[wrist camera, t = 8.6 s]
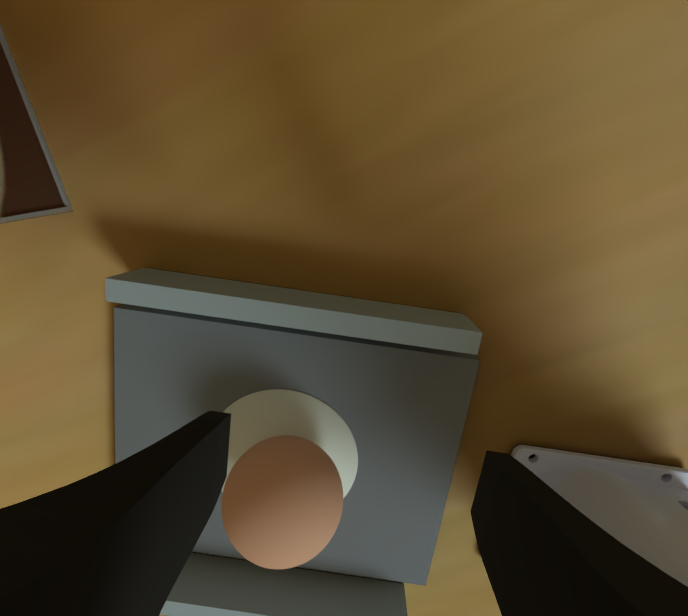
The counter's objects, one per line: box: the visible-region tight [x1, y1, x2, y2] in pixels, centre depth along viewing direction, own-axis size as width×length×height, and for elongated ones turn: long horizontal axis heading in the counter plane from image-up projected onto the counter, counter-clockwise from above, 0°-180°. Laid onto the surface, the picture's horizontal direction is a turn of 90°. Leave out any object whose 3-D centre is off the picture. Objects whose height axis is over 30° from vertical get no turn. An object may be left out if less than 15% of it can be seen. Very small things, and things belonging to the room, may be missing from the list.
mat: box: [114, 304, 480, 586], centre depth 21 cm, size 18×14×1 cm
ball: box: [221, 435, 343, 569], centre depth 18 cm, size 6×6×6 cm
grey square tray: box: [105, 268, 483, 616], centre depth 20 cm, size 16×18×3 cm
